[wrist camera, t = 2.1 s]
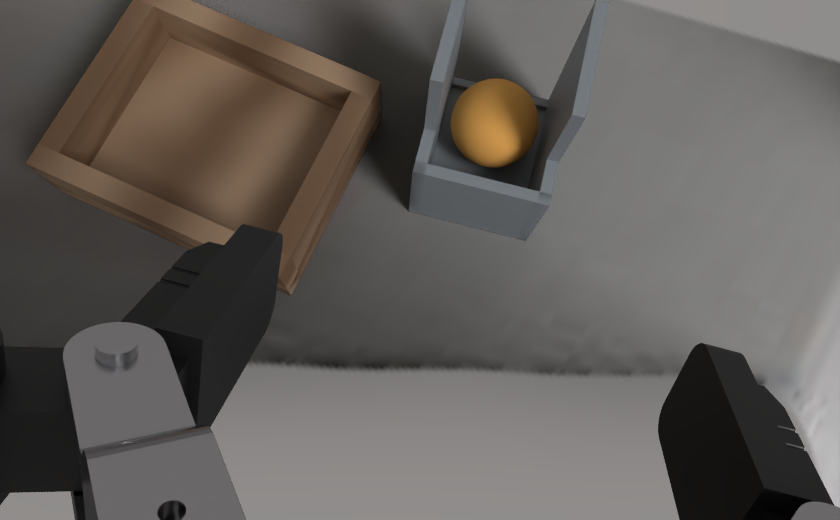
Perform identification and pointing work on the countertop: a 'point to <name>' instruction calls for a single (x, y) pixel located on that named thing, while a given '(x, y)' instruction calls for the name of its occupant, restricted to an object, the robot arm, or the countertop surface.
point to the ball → (494, 123)
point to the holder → (513, 184)
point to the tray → (211, 131)
